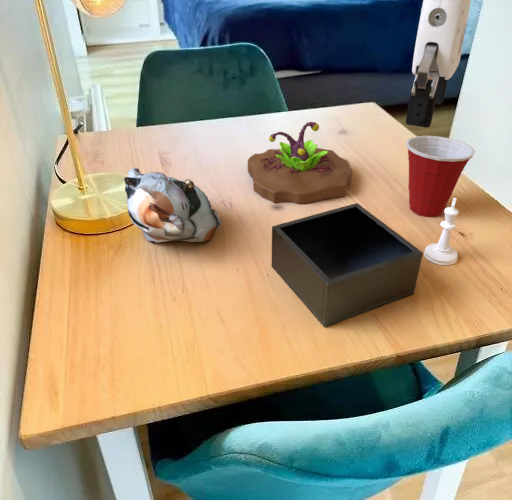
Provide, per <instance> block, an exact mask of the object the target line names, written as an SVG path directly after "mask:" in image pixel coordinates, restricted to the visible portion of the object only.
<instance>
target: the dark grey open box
mask: <svg viewBox="0 0 512 500" xmlns="http://www.w3.org/2000/svg"><path fill="white" fill-rule="evenodd" d="M423 256H424V251H421V250H420V249H419V248H418V247H416V246H415V245H414V244H412V243H411V242H410V241H408V240H407V239H406V238H404V237H403V236H402V235H400V234H399V233H398V232H396V231H395V230H393V229H392V228H391V227H390V226H388V225H387V224H385V223H384V222H383V221H382V220H381V219H380V218H378V217H377V216H376V215H373V213H371V212H370V211H368V210H367V209H366V208H364V207H363V206H362V205H360V203H358V202H356V203H351V204H349V205H345V206H340V207H337V208H334V209H329V210H327V211H322V212H320V213H316V214H312V215H307V216H305V217H301V218H297V219H294V220H290V221H286V222H283V223H280V224H279V223H278V224H276V225H272V226H271V268H272V269H273V270H274V271H275V272H276V274H278V276H279V277H280V278H281V279H282V281H283V282H284V283H285V284H286V285H287V286H288V288H289V289H290V290H291V291H292V292H293V293H294V294H295V295H296V296H297V298H298V299H299V300H300V301H301V302H302V303H303V305H304V306H305V307H306V308H307V309H308V310H309V312H310V313H311V314H312V315H313V316H314V317H315V318H316V319H317V321H318V322H319V323H320V324H321V326H322V327H323V328H328V327H329V326H333V325H335V324H338V323H341V322H344V321H346V320H348V319H352V318H354V317H357V316H359V315H362V314H365V313H368V312H370V311H374V310H376V309H379V308H381V307H383V306H386V305H389V304H392V303H394V302H398V301H400V300H403V299H406V298H407V297H411V296H413V295H415V290H416V286H417V281H418V277H419V273H420V269H421V265H422V260H423Z"/></svg>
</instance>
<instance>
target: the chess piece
mask: <svg viewBox="0 0 512 500" xmlns="http://www.w3.org/2000/svg"><path fill="white" fill-rule="evenodd" d="M456 203H457V197H453V198H452V201H451V206H446V207H445V209H444V211H443V213H444V220H442V221H441V222H440V227H442V228H443V229H442V232H441V235H440V237H439V238H438V241H437V242H434V243H430V244H428V245H427V246H426V247H425V249H424V251H423V256H424V257H425V259H426V260H428V261H429V262H430V263H433V264H435V265H437V266H438V265H439V266H451V265H454V264H456V263H457V262H458V258H459V257H458V256H459V253H458V251H457V250H456V249H455V248H454V247H452V246H451V245H450V239H451V230H454V229H456V227H457V225H456V223H455V222H454V221H455V220H456V218H457V217H458V216H459V213H460V211H459V209H458V208H456V207H455V206H456Z"/></svg>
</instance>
